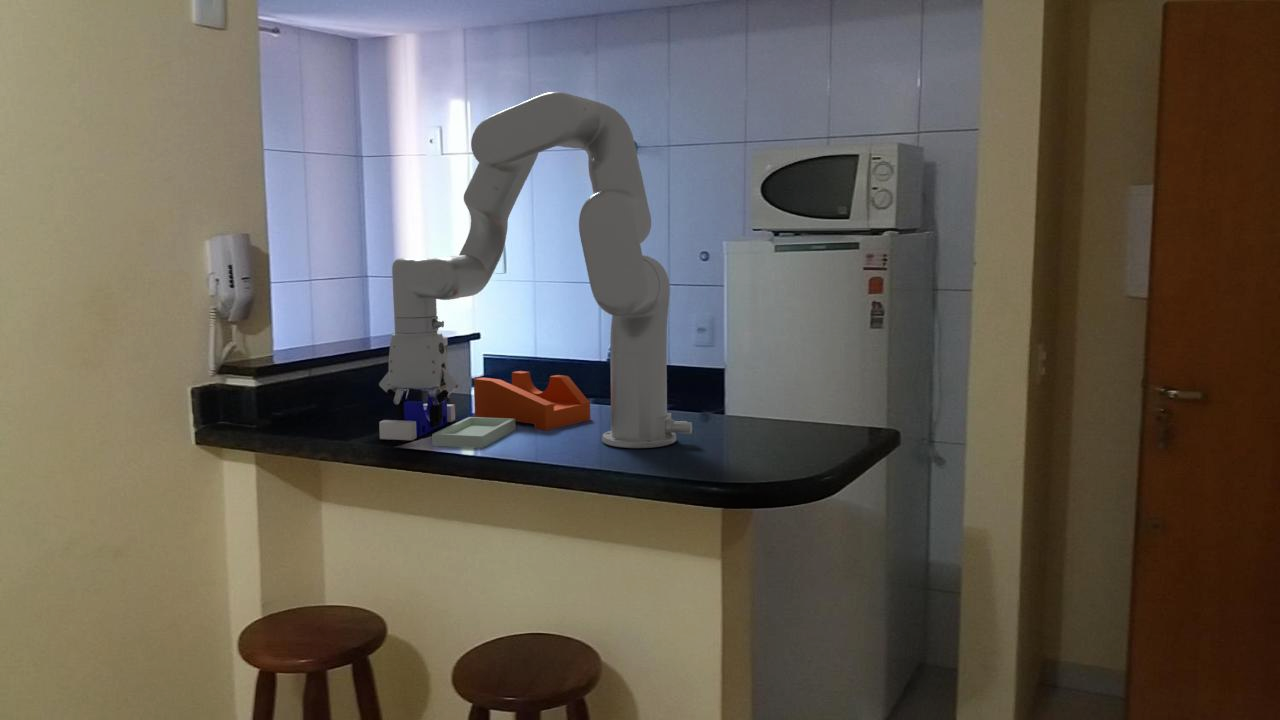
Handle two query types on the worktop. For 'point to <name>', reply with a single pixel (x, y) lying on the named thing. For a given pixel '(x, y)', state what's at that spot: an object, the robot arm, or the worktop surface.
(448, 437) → the tray
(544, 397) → the tape dispenser
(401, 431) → the white rectangular blocks
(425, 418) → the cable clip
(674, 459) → the worktop surface
